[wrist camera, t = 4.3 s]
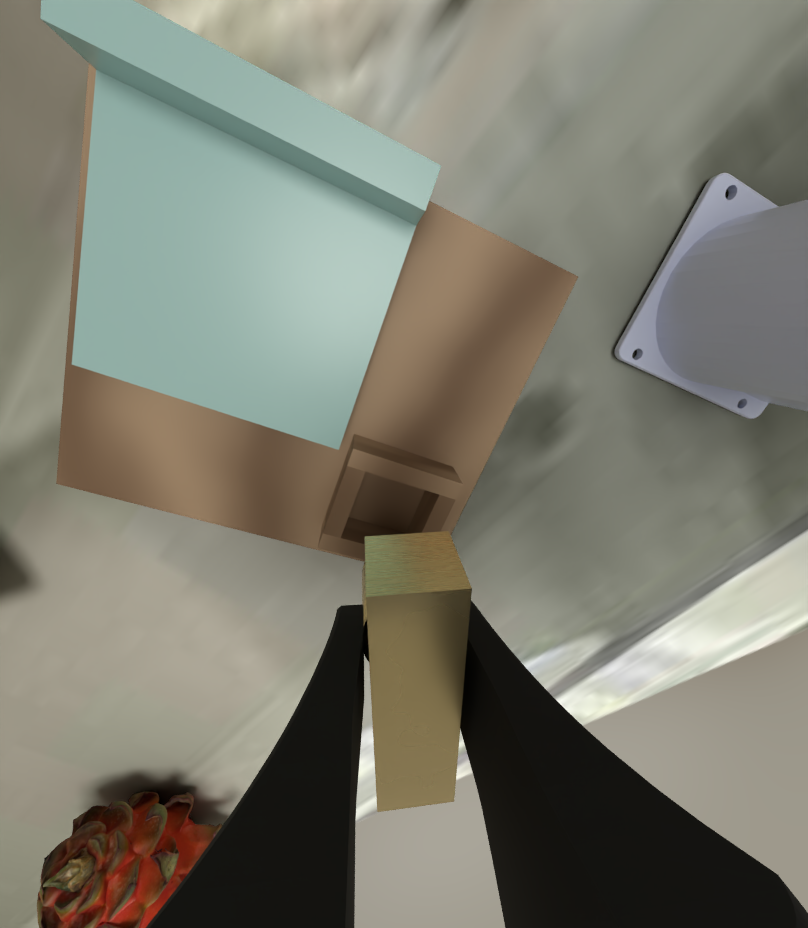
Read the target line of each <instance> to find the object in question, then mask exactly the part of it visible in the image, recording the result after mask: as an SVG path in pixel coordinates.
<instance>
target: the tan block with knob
mask: <svg viewBox="0 0 808 928" xmlns="http://www.w3.org/2000/svg"><path fill="white" fill-rule="evenodd" d="M471 591H472V588H471V586H470V583H469V581H468V578H467V576H466V573H465V571H464V568H463V566H462V563H461V561H460V558H459V556H458V553H457V551H456V548H455V546H454V543H453V541H452V538H451V536H450V533H449V531H443V532H428V533H412V534H396V535H381V536H365V563H364V566H363V570H362V601H363V607H364V654H365V657H366V658H367V660H368V661H369V663H370V681H371V700H372V718H373V737H374V755H375V774H376V793H377V811H378V812H381V811H389V810H396V809H403V808H410V807H417V806H425V805H432V804H439V803H447V802H453V801H454V795H455V783H456V771H457V759H458V747H459V735H460V723H461V711H462V699H463V687H464V675H465V663H466V651H467V639H468V627H469V615H470V603H471Z"/></svg>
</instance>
